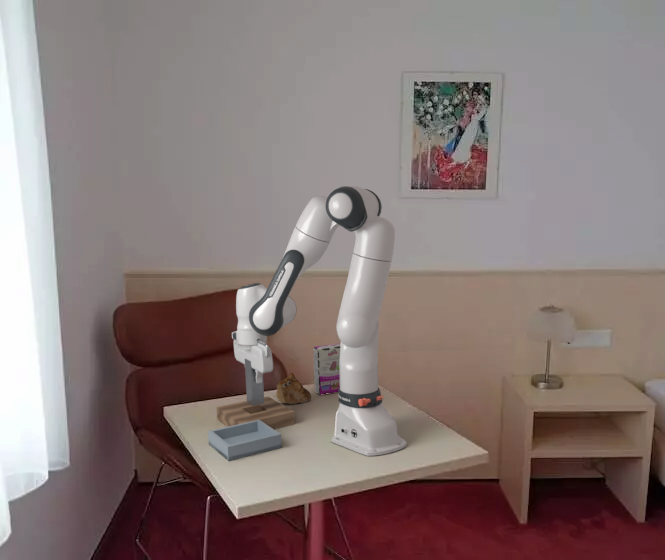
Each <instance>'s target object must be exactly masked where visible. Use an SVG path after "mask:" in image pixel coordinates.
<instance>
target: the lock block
mask: <svg viewBox="0 0 665 560" xmlns="http://www.w3.org/2000/svg"><path fill="white" fill-rule="evenodd" d="M295 413H296V412H295V411H294V410H293V409H291V408H289V407H287V406H286V405H284V404H283V403H281V402H280V401H277V400H275V399H274V398H272V397H270V396H264V404H259V405H255V406H252V405H250V404H248V403H247V400H243V401H239V402H234V403H229V404H224V405H219V406H216V419H217V420H218V421H219V423H221V424H223V425H224V426H225V427H229V426H233V425H238V424H242V423H246V422H251V421H255V420H260V421H262V422H263V423H265V424H266V425H268V426H269V427H271V428H272V429H274V430H277V429H281V428H285V427H288V426H289V427H290V426H293V425H296V418H295V417H296V416H295V415H296V414H295Z"/></svg>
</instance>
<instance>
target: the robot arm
mask: <svg viewBox="0 0 665 560" xmlns="http://www.w3.org/2000/svg"><path fill="white" fill-rule="evenodd" d="M382 208H383V207H382V202H381V198H380V197H379V196H378V194H376V193H375V192H373V191H372V190H370V189H367V188H363V187H359V186H345V185H343V186H340V187H338V188H336V189H333V190H332V191H331V192H330V193H329V195H328V196H323V195H318V196H317V195H316V196H313V197H312V198H311V199H310V200H309V202H308V203H307V204H306V206H305V207H304V209H303V210H302V213H301V214H300V216H299V218H298V220H297V222H296V224H295V226H294V228H293V231H292V234H291V236H290V238H289V240H288V244H287V245H286V246H287V247H286V249H285V251H284V254H283V256H282V259H281V260H280V263H279V265H278V267H277V268H276V269H275V273H274V274H273V277H272V278H271V280H270V282H269V284H268V287H265V285H263V283H259V282H256V283H255V282H254V283H249V284H245V285H243V286H241V287H239V289H237V292H236V296H235V297H236V298H235V301H236V302H235V303H236V304H235V310H236V312H235V313H236V317H237V326H236V329H237V330H236V331H233V332H231V338H232V340H233V353H234V359H236V361H237V362H239V363H241V364H243V365H245V359H247V360H249V361H251V367H252V368H253V369H255V372H256V377H255V382H256V383H261V382H262V376H263V377H264V374H267V373H271V372H273V370H274V361H273V359H274V358H273V354H272V349H271V348H270V346H269V345H268V337H270V336H271V337H272V336H273V335H276V333H278V332H279V331H280V330H281V329H283V328H284V327H285V326H287V325H288V324H290V323H291V322H292V321H293V320H294V319H295V317H296V315H297V312H298V311H297V304H296V302H295V300H294V299H293V298H292V297H290V295H291V292H292V290H293V288H294V286H295V284H296V283H297V281H298V279H299V278H300V277H301V276H302V275H303V274H304V273H305V272H306V271H307V270H308V269H310V268H311V267H312V266H314V265H315V264H316V263H317V262H319V261H320V259H321V258H322V257H323V256H324V254H325V252H326V251H327V249H328V247H329V246H330V244H331V240H332V238H333V236H334V234H335V233H336V230H337V229H338V228H339V227H342V228H343V229H345V230H347V231H348V232H353V233H354V235H355V242H354V246H353V251H352V255H351V260H350V265H349V269H348V274H347V275H348V276H347V279H346V281H345V282H346V283H345V287H344V291H343V296H342V300H341V302H340V303H341V304H340V307H339V312H338V315H337V320H336V325H335V329H336V334H337V337H338V339H339V341H340V360H339V369H340V388H339V390H338V392H337V398H338V399H337V400H338V402H339V405H338V407H337V411H336V413H335V419H334V421H335V422H334V423H335V424H334V434H333V436H332V437H331V442H332V443H333V444H335V445H338V446H341V447H343V448H346V449H348V450H351V451H353V452H356V453H359V454H361V455H364V456H367V457H368V456H369V457H373V456H382V455H386V454H387V455H388V454H391V453H394V452H397V451H400V450H401V449H404V448H405V447H407V445H408V444H407V441H406V440H405V439H404V438H403V437H401V436H400V435H399V433H398V432H399V431H398V425H397V420H396V417H395V416H392V415H391V414H390V413H389V411H388V410H387V408H386V407H385V405H384V404H383V400H384V396H385V395H382V392H381V389H380V387H379V325H380V323H379V320H380V314H381V310H382V306H383V305H382V304H383V301H384V297H385V293H386V287H387V285H388V284H387V283H388V278H389V275H390V269H391V266H392V260H393V256H394V255H393V254H394V249H395V235H396V233H395V232H396V231H395V230H396V229H395V226H394V224H393V223H392V222H391V221H390V220H388V219H386V218H384V217H380V216H381V213H382Z"/></svg>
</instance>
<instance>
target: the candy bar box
mask: <svg viewBox="0 0 665 560" xmlns="http://www.w3.org/2000/svg"><path fill="white" fill-rule="evenodd" d="M312 349H313V351H312V353H313V374H314V377H313V379H314V392H315V391H316V392H317V393H318V395H319V396H322V395H321V394H325V395H327V394H326V393H331V394H335V393H334V392H337V393H338V390H339V388H340V369H339V360H340V343H332V344H326V345H325V344H324V345H319V346H318V345H317V346H312ZM316 392H315V393H316ZM317 393H316V394H317Z"/></svg>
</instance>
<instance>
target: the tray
mask: <svg viewBox="0 0 665 560" xmlns="http://www.w3.org/2000/svg"><path fill="white" fill-rule="evenodd" d="M207 435H208V437H207V438H208V439H207V440H208V446H210V447H211V448H212V449H213V450H215V451H216V452H217V453H218V454H220V455H221V457H223V458H224V459H225V460H227V461H228V462H230V461H235V460H239V459H243V458H245V457H246V458H247V457H250V456H255V455H258V454H263V453H266V452H270V451H274V450H278V449H282V447H283V446H282V433H280V432H279V431H277V429H272V428H271V427H269V426H268V425H266V424H265V423H263V422H262V421H260V420H255V421H251V422H246V423H242V424H238V425H233V426H229V427H227V426H224V427H219V428H215V429H211V430H208V431H207Z"/></svg>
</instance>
